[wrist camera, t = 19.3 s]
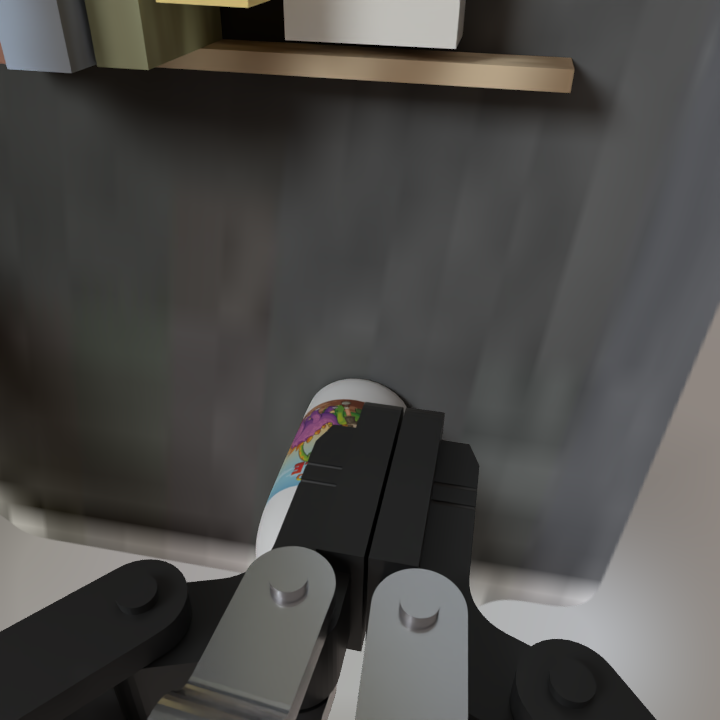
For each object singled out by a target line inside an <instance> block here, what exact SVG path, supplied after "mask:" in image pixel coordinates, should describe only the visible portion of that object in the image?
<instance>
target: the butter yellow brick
mask: <svg viewBox="0 0 720 720" xmlns="http://www.w3.org/2000/svg"><path fill="white" fill-rule="evenodd" d="M267 1H270V0H156V2H160V3H176V4H192V5H209V6H225V7H241V8H250V7H252V6H255V5H258V4H261V3H264V2H267Z"/></svg>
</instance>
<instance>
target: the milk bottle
mask: <svg viewBox="0 0 720 720" xmlns="http://www.w3.org/2000/svg"><path fill="white" fill-rule="evenodd" d="M365 402H371V403H378V404H385V405H392V406H399V407H403V408H404V413H405V409H406V408H407V407H406V405H405V404H404V402H403V401H402V400H401V399H400V398H399V397H398V395H397V394H396V393H394V392H393V391H391V390H390V389H389V388H387V387H385V386H383V385H381V384H379V383H377V382H373V381H370V380H366V379H359V378H348V379H343V380H338V381H336V382H333V383H330V384H329V385H327V386H325V387H324V388H322V389H321V390H320V391H319V392H318V393H317V394H316V395H315V396H314V398H313V399H312V401H311V403H310V405H309V407H308V409H307V411H306V414H305V416H304V418H303V420H302V422H301V425H300V427H299V429H298V431H297V434H296V436H295V438H294V440H293V443H292V445H291V447H290V449H289V452H288V454H287V456H286V458H285V461H284V463H283V465H282V468H281V470H280V472H279V475H278V477H277V479H276V482H275V484H274V486H273V489H272V491H271V493H270V496H269V499H268V501H267V504H266V506H265V509H264V512H263V514H262V517H261V521H260V525H259V529H258V534H257V541H256V559H257V558H259V557H260V556H261V555H263V554H265V553H266V552H268V551H271V549H272V547H273V545H274V543H275V541H276V539H277V536H278V534H279V531H280V529H281V526H282V524H283V521H284V519H285V516H286V514H287V511H288V509H289V506H290V504H291V501H292V499H293V496H294V494H295V491H296V489H297V486H298V484H299V482H300V481H301V476H302V474H303V471H304V469H305V466H306V465H307V463H308V459H309V457H310V454H311V452H312V449H313V447H314V444H315V442H316V440H317V439H318V438H319V437H321V436H322V435H323V434H324V433H325V432H326V431H327V430H328V429H329V428H330V427H332V426H333V425H341V426H348V427H354V428H356V426H357V423H358V420H359V417H360V414H361V411H362V408H363V405H364V403H365Z"/></svg>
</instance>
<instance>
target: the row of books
mask: <svg viewBox="0 0 720 720" xmlns="http://www.w3.org/2000/svg"><path fill="white" fill-rule="evenodd" d="M0 63H4V64H6V65H7V69H14V70H30V71H45V72H60V73H74V72H77V71H80V70H82V69H85V68H88V67H91V66H94V65H97V67H108V68H124V69H140V70H150V69H152V68H155V67H159V68H175V69H191V70H207V71H223V72H239V73H255V74H272V75H288V76H304V77H320V78H336V79H352V80H368V81H384V82H400V83H417V84H433V85H449V86H465V87H481V88H497V89H513V90H529V91H546V92H562V93H570V92H571V86H572V81H573V76H574V70H575V69H574V66H573V63H572V59H571V58H564V57H546V56H527V55H509V54H490V53H471V52H453V51H434V50H416V49H397V48H378V47H360V46H341V45H322V44H304V43H285V42H267V41H248V40H229V39H223V37H222V26H221V15H220V6H209V5H192V4H176V3H160V2H156V0H0Z"/></svg>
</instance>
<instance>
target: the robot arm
mask: <svg viewBox="0 0 720 720" xmlns="http://www.w3.org/2000/svg"><path fill="white" fill-rule="evenodd" d="M444 416H445V413H443V412H436V411H429V410H421V409H414V408H406V409H405V413H404V408H403V407H399V406H392V405H385V404H378V403H371V402H365V403H364V405H363V408H362V411H361V414H360V417H359V420H358V423H357V426H356V428H354V427H348V426H341V425H333V426H332V427H330V428H329V429H328V430H327V431H326V432H325V433H324V434H323V435H322V436H321V437H319V438H318V439H317V440H316V442H315V444H314V447H313V449H312V452H311V454H310V457H309V459H308V463H307V465H306V466H305V469H304V471H303V474H302V476H301V481H300V482H299V484H298V486H297V489H296V491H295V494H294V496H293V499H292V501H291V504H290V506H289V509H288V511H287V514H286V516H285V519H284V521H283V524H282V526H281V529H280V531H279V534H278V536H277V539H276V541H275V543H274V545H273V547H272V549H271V551H268V552H266V553H265V554H263V555H261V556H260V557H259V558H257V559H256V560H255V561H254V562H253V563H252V564H251V565H250V566H249V568H248V570H247V571H246V572H244V573H242V574H240V575H237V576H233V577H230V578H224V579H217V580H207V581H197V582H187V583H186V580H185V578H184V576H183V574H182V573H181V572H180V571H179V570H178V569H177V568H176V567H175V566H173V565H172V564H169V563H167V562H164V561H160V560H140V561H135V562H132V563H128V564H126V565H123V566H121V567H119V568H117V569H115V570H114V571H112V572H110V573H108V574H107V575H104V576H102V577H101V578H99V579H97V580H95V581H93V582H91V583H90V584H88V585H86V586H84V587H82V588H80V589H78V590H77V591H75V592H73V593H71V594H69V595H68V596H65V597H64V598H62V599H60V600H58V601H56V602H54V603H53V604H51V605H49V606H47V607H45V608H43V609H42V610H40V611H38V612H36V613H34V614H32V615H30V616H29V617H27V618H25V619H23V620H21V621H20V622H17V623H16V624H14V625H12V626H10V627H9V628H6V629H5V630H3V631H1V632H0V720H327V719H328V716H329V713H330V710H331V707H332V704H333V701H334V698H335V694H336V684H337V682H338V679H339V676H340V672H341V668H342V663H343V659H344V656H345V652H346V649H352V650H357V651H361V650H362V645H363V641H364V637H365V632H366V644H365V651H364V658H363V666H362V673H361V680H360V688H359V695H358V702H357V710H356V716H355V720H656V719H655V718H654V716H653V715H652V714H651V713H650V712H649V710H648V709H647V708H646V707H645V706H644V705H643V703H642V702H641V701H640V700H639V699H638V697H637V696H636V695H635V694H634V693H633V692H632V690H631V689H630V688H629V687H628V686H627V684H626V683H625V682H624V681H623V680H622V679H621V677H620V676H619V675H618V674H617V673H616V672H615V670H614V669H613V668H612V667H611V666H610V665H609V664H608V663H607V661H605V660H604V658H602V657H601V656H600V655H599V654H597V653H596V652H595V651H593V650H591V649H590V648H588V647H586V646H584V645H582V644H579V643H576V642H573V641H570V640H563V639H550V640H545V641H541V642H539V643H536V644H535V645H533V646H529V645H527V644H526V643H524V642H522V641H520V640H518V639H516V638H514V637H512V636H510V635H508V634H506V633H504V632H503V631H501V630H499V629H498V628H496V627H495V626H494V625H492V624H491V623H490V622H489V621H488V620H487V619H486V618H485V617H484V616H483V615H482V614H481V612H480V611H479V610H478V608H477V607H476V605H475V603H474V601H473V599H472V596H471V593H470V587H469V575H470V564H471V552H472V541H473V530H474V519H475V507H476V496H477V485H478V474H479V464H478V462H477V460H476V458H475V455H474V453H473V451H472V449H471V447H470V445H469V444H463V443H457V442H450V441H443V440H442V434H443V426H444Z"/></svg>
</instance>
